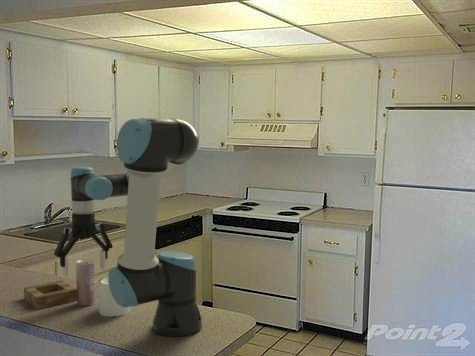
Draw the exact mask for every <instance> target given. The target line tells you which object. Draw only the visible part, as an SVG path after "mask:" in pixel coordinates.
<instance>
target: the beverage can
mask: <svg viewBox="0 0 475 356" xmlns="http://www.w3.org/2000/svg"><path fill="white" fill-rule="evenodd" d="M75 263H76V264H75V276H76V277H75V278H76V289H77V301H76V303H77V305H79V306H80V307H89V306H92V305H93V304H94V303H95V302H96V296H95V295H96V294H95V292H96V291H95V263H94V260H93V259H81V260H77V261H76V262H75Z"/></svg>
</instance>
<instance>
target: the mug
mask: <svg viewBox="0 0 475 356" xmlns="http://www.w3.org/2000/svg"><path fill="white" fill-rule="evenodd" d="M97 283H98V285H97V287H98V313H99V314H101V315H100V316H102V315H103V317H107V316H109V318H111V317H112V318H114V317H113V316H116V317H122V316H124V315H125V316H126V315H127V314H129V313H130V312H131V307H121V306H120V305H118V304H117V302H116V301H115V300H114V298H113V296H112V293H111V291H110V287H109V282H108V276H105V277H101V278H100V279H99V280H98V282H97Z"/></svg>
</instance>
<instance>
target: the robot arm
mask: <svg viewBox="0 0 475 356" xmlns="http://www.w3.org/2000/svg"><path fill="white" fill-rule="evenodd" d="M198 148H199V137H198V134H197V132H196V130H195V128H194V127H193V126H192V124H190V123H189V122H187V121H185V120H183V119H178V118H152V117H151V118H147V117H142V118H133V119H132V118H131V119H129V120H127V121H125V122H124V124H122V126H121V127H120V130H119V131H118V134H117V139H116V151H117V157H118V159H119V161H121V162H122V163H123V167H124V169H125V170H126V171H127V172H126V173H118V174H103V175H102V174H101V175H96V174H95V171H94V168H93V167H90V166H76V167H72V168H71V170H70V186H71V187H70V188H71V189H70V191H71V196H70V197H71V212H72V214H71V224H72V226H71V227H68V228H67V227H63V228H62V235H61V237H60V239H59V241H58V244H57V246H56V248H55V250H54V252H53V255H54V256H55V257H57V258H59V265H60V267H61V268H62V276H64V277H66V278H67V277H69V258H68V257H67V255H68V254H69V252H70V251H71V249H72V248H73V247H74V245H75V244H76V243H77V242H79V240H85V239H90V238H91V239H92V240H93V241H94V242H95V243H96V244H97V246H99V247H100V248H101V249H100V250H99V265H100V266H99V268H100V269H101V270H106V267H107V266H106V265H107V264H106V263H107V262H106V260H108V259H109V257H108V256H109V255H108V253H109V250H110V249H113V247H114V246H113V244H112V242H111V239H110V238H109V236H108V235H107V233H106V230H105V225H104V223H100V222H98V223H95V222H96V218H95V217H96V215H95V213H96V212H94V211H95V201H104V200H107V199H109V198H117V197H126V198H127V199H126V200H127V201H126V213H125V214H126V215H125V226H124V227H125V228H124V230H125V231H124V241H123V242H124V244H123V253H122V254H120V255H119V256H118V258H117V266H116V267H113V268H111V269H109V271H108V275H107V277H108V282H109V287H110V291H111V293H112V296H113V298H114V300H115V301H116V302H117V304H118V305H120V306H121V307H130V308H131V307H138V306H139V305H143V304H147V303H151V302H155V301H157V302H158V303H157V306H156V310H155V313H154V316H153V319H152V330H153V332H155V333H156V334H158V335H161V336H163V337H185V336H189V335H193V334H195V333H197V332H199V331H200V330H201V329H202V327H203V318H202V314H201V313H200V309H199V306H198V304H197V264H196V258H195V257H194V256H193V255H192V254H189V253H184V252H178V251H160V252H159V253H157V255H155V249H156V240H157V239H156V237H157V236H156V235H157V226H158V214H159V202H160V201H159V200H160V190H161V189H160V188H161V181H162V179H161V178H162V175H164V174H165V173H166V172H168V171H170V170H171V169H172V168H174V167H175V166H181V165H183V164H185V163H186V162H188V161H190V159H191V158H193V157H194V156H195V154H196V153H197V151H198ZM96 230H97V231H98V232H99V235H100V236H101V238H102V240H103V241H102V240H101V239H100V238H99V237H98V235H97V234H95V232H96ZM71 233H72V235H71V237H70V239H69V240H68V238H69V235H70V234H71ZM67 241H68V242H67ZM103 242H104V243H103Z"/></svg>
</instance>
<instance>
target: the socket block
mask: <svg viewBox="0 0 475 356" xmlns="http://www.w3.org/2000/svg"><path fill="white" fill-rule="evenodd" d="M23 299H24V300H26V302H28V303H29V304H30V305H31V306H33V307H34V308H35V309H36V310H41V309H45V308H46V309H47V308H50V307H55V306H59V305H63V304H67V302H68V303H73V302H77V287H74V286H72V285H71V284H69V283H67V282H66V281H64V280H62V279H61V280H57V281H52V282H47V283H42V284H37V285H31V286H26V287H23Z"/></svg>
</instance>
